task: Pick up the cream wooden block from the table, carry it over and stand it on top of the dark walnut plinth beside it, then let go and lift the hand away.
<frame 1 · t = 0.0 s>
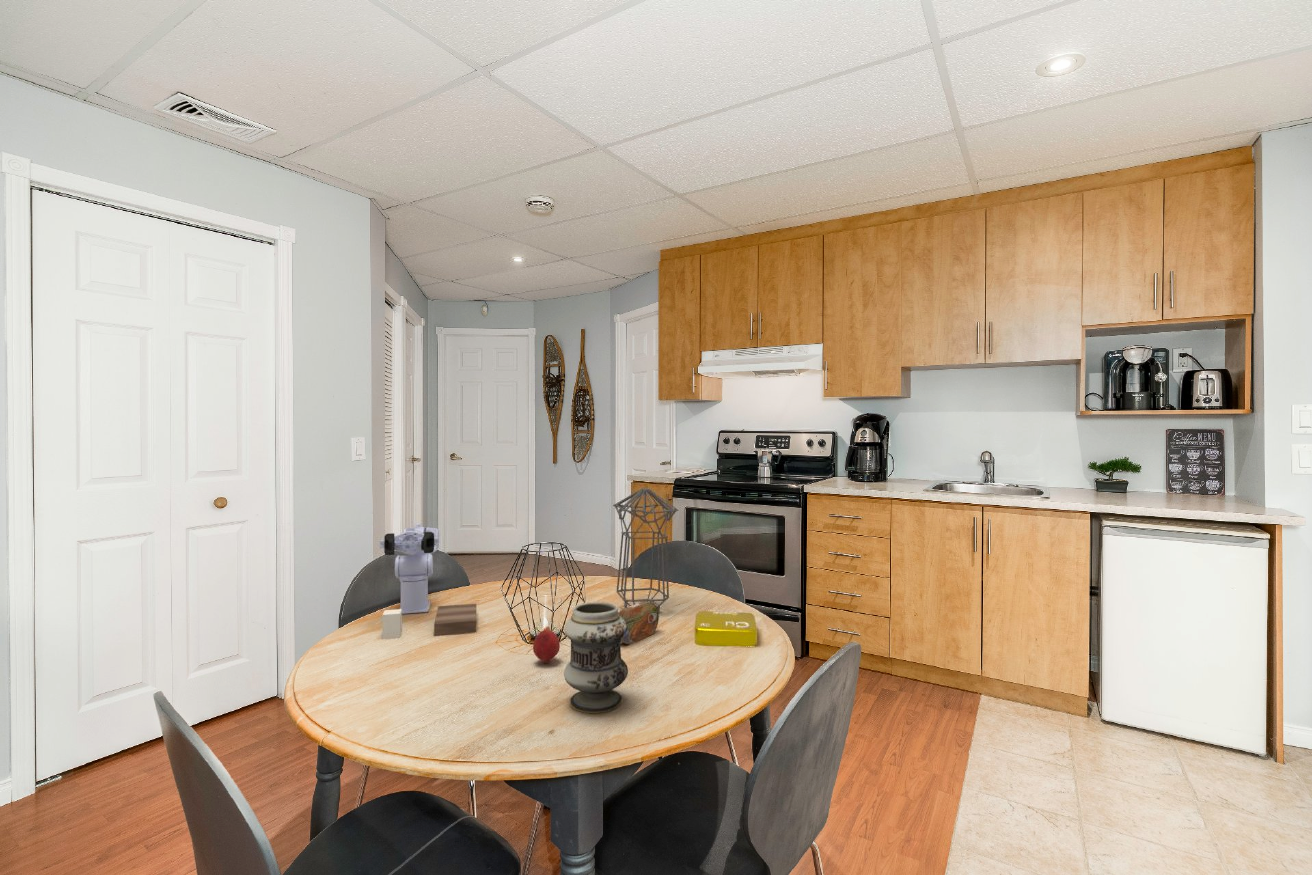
hand: (406, 545, 156), 22 cm above the table, tool horizontal, fingers open, 7 cm apart
tin: (636, 639, 151), on the table
block: (392, 635, 152), on the table
plinth: (456, 624, 161), on the table
apothecary jar: (595, 702, 116), on the table
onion: (546, 663, 135), on the table
geometric lantern: (644, 611, 174), on the table
element tile: (725, 638, 153), on the table
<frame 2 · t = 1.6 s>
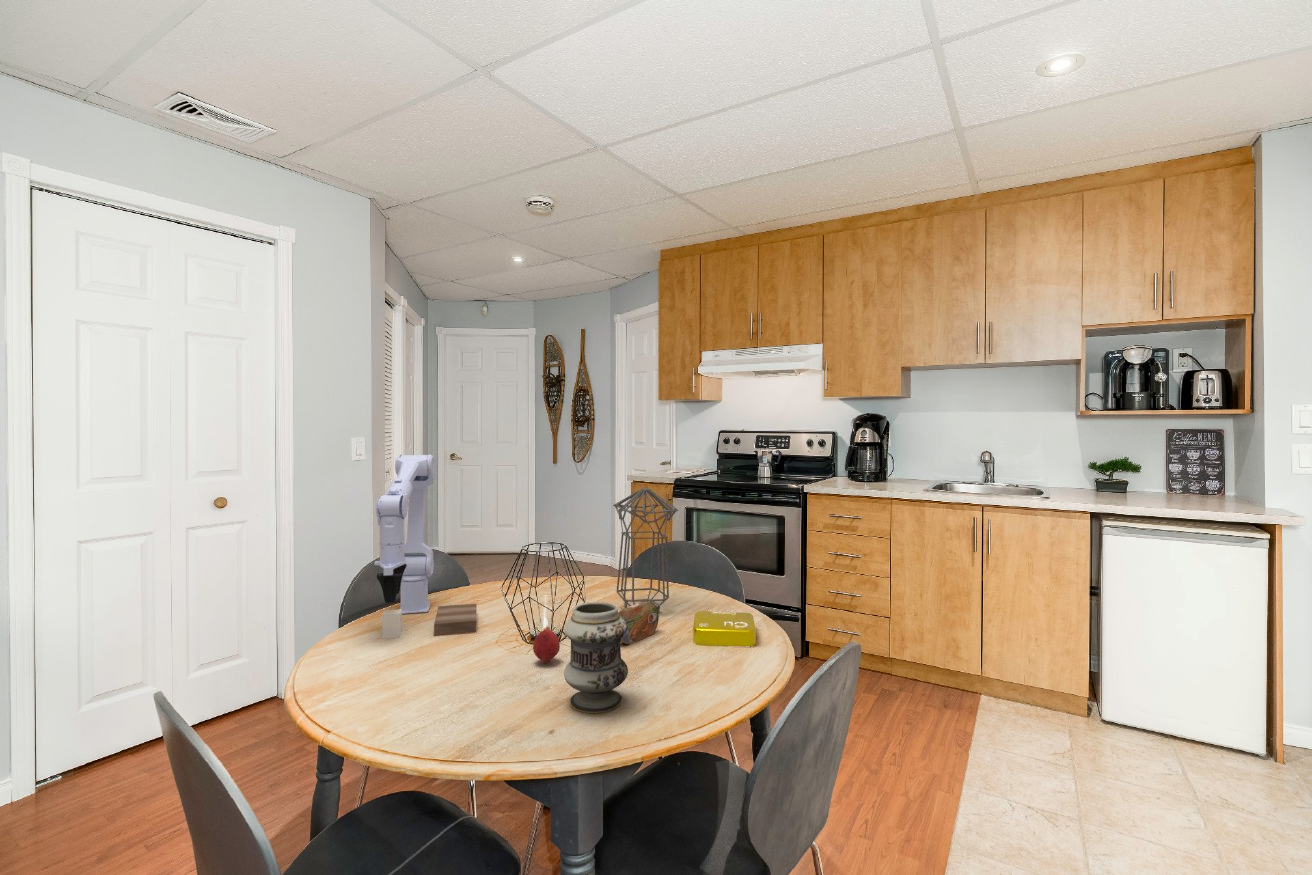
hand: (392, 597, 152), 9 cm above the table, tool pointing down, fingers open, 7 cm apart
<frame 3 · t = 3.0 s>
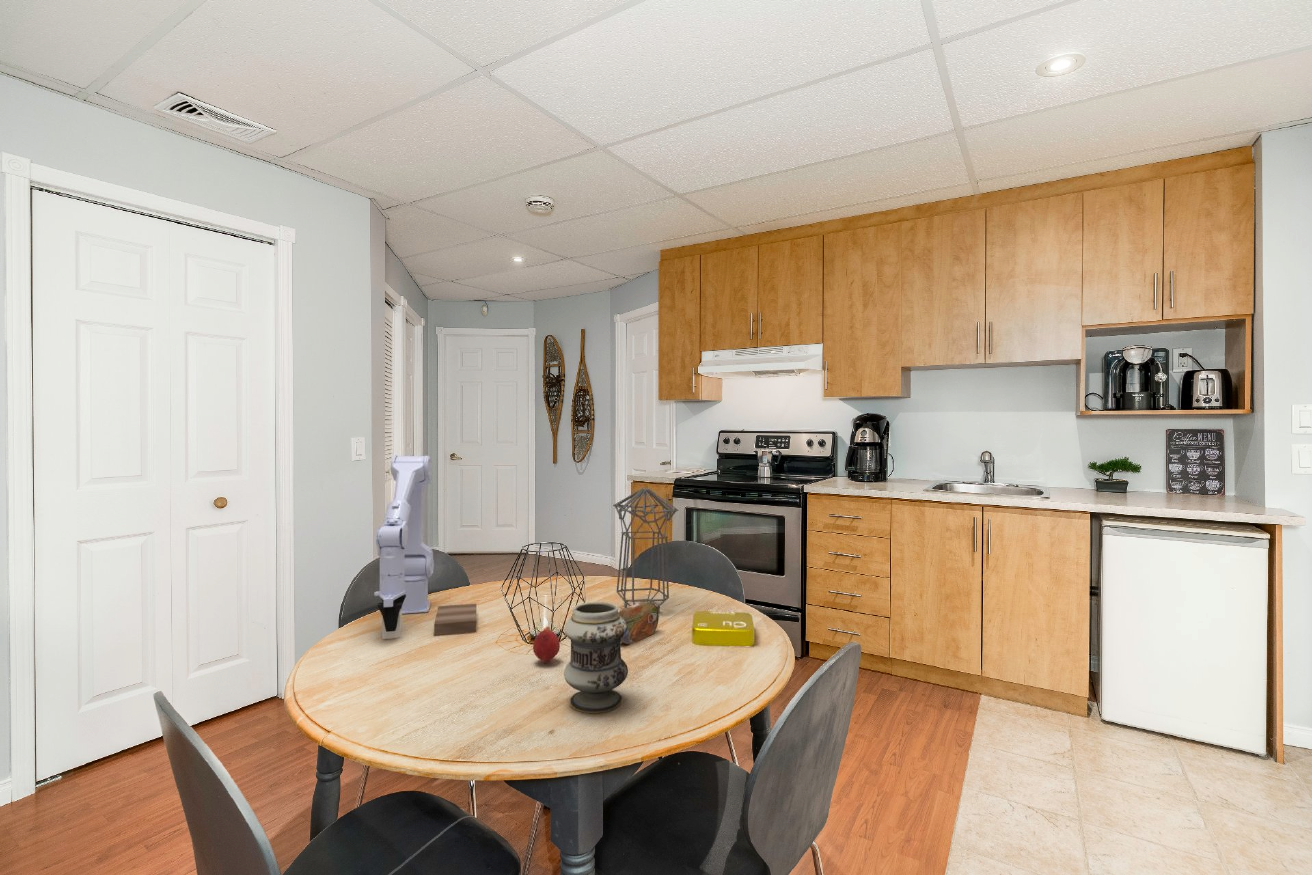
hand: (392, 627, 152), 2 cm above the table, tool pointing down, fingers closed on block, 4 cm apart
block: (392, 635, 152), on the table, touching gripper
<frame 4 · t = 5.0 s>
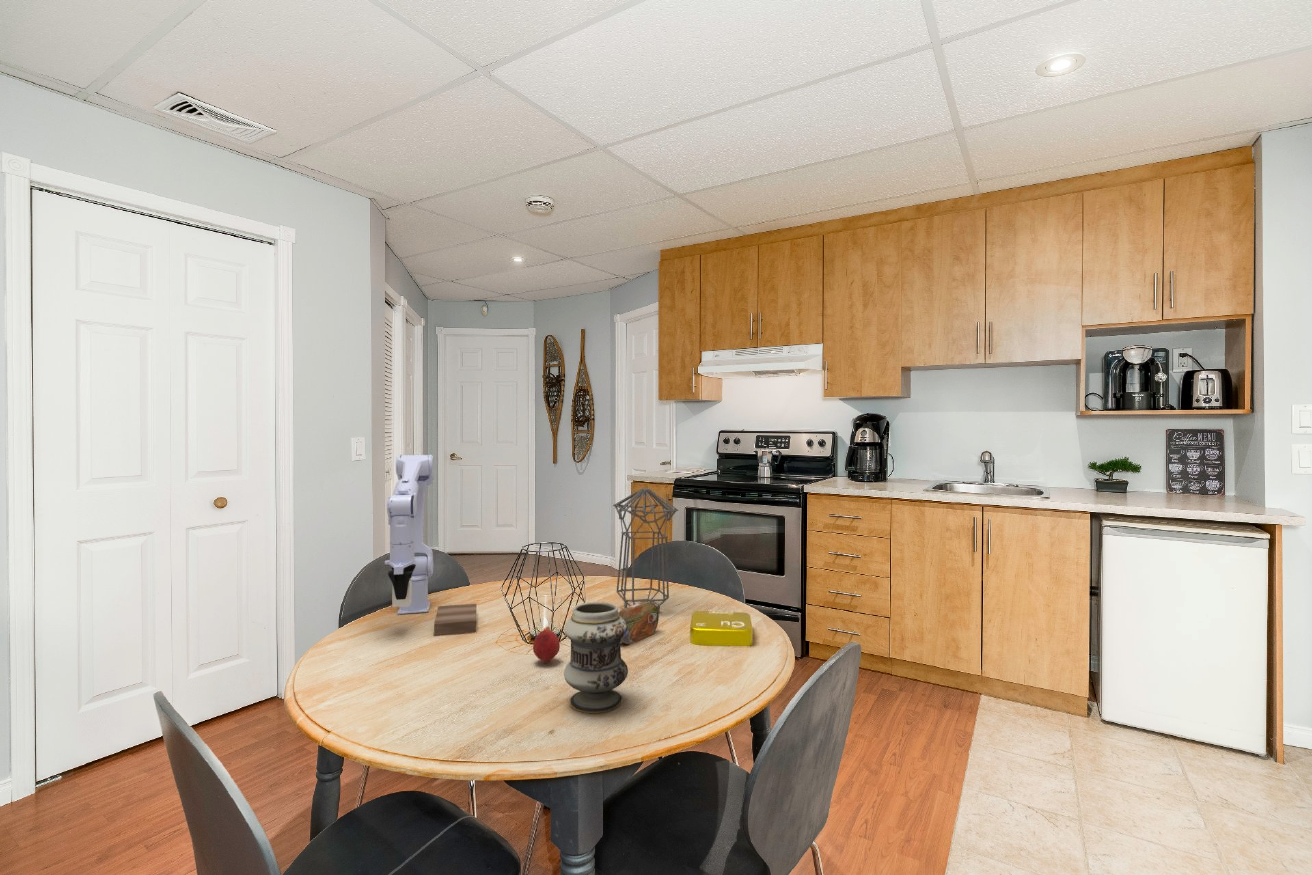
hand: (402, 596, 154), 9 cm above the table, tool pointing down, fingers closed on block, 4 cm apart
block: (402, 604, 154), point 7 cm above the table, touching gripper
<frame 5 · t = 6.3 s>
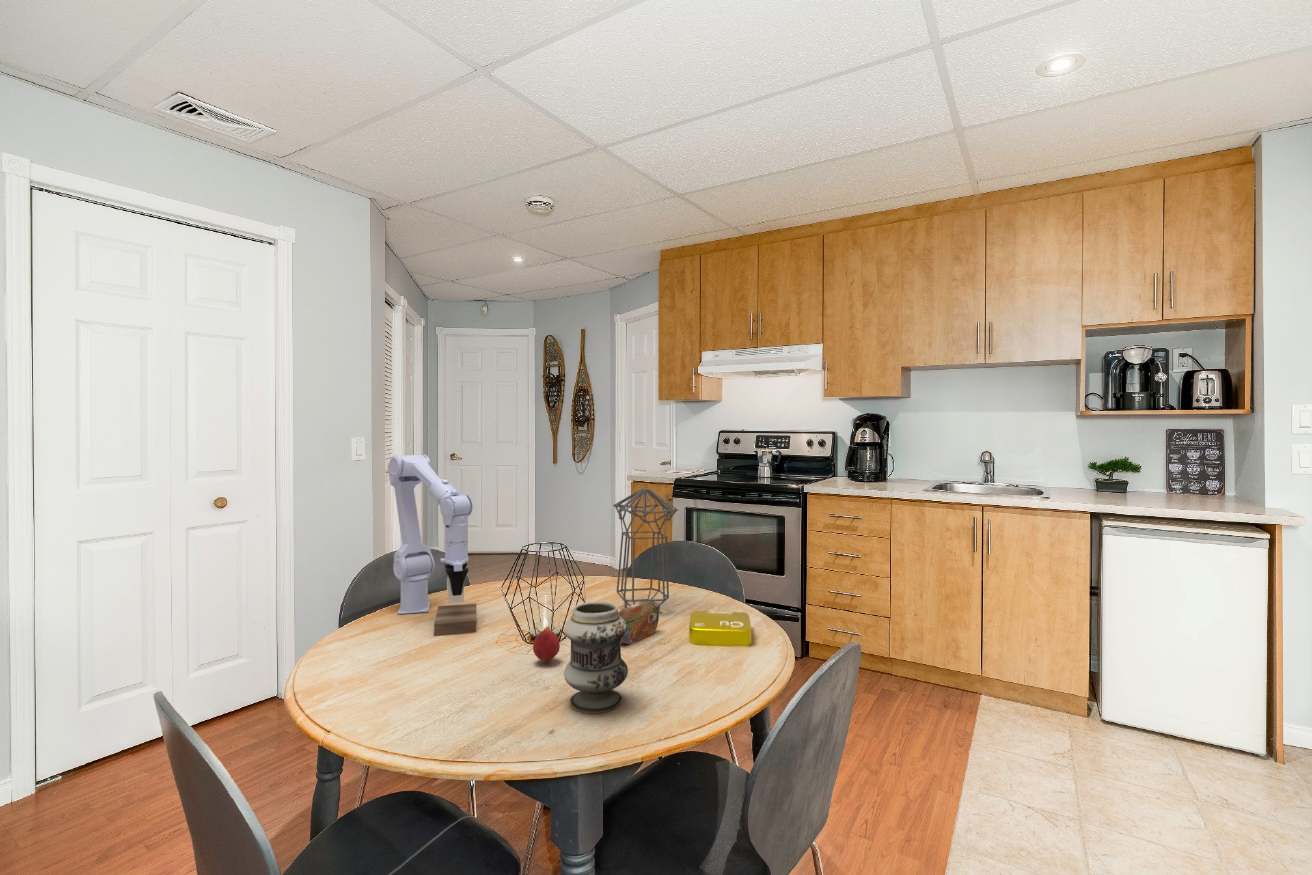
hand: (456, 592, 161), 8 cm above the table, tool pointing down, fingers closed on block, 4 cm apart
block: (455, 600, 161), point 6 cm above the table, touching gripper
when the fingers open (6 cm above the table, at t = 7.1 s): block drops 1 cm, resting on plinth.
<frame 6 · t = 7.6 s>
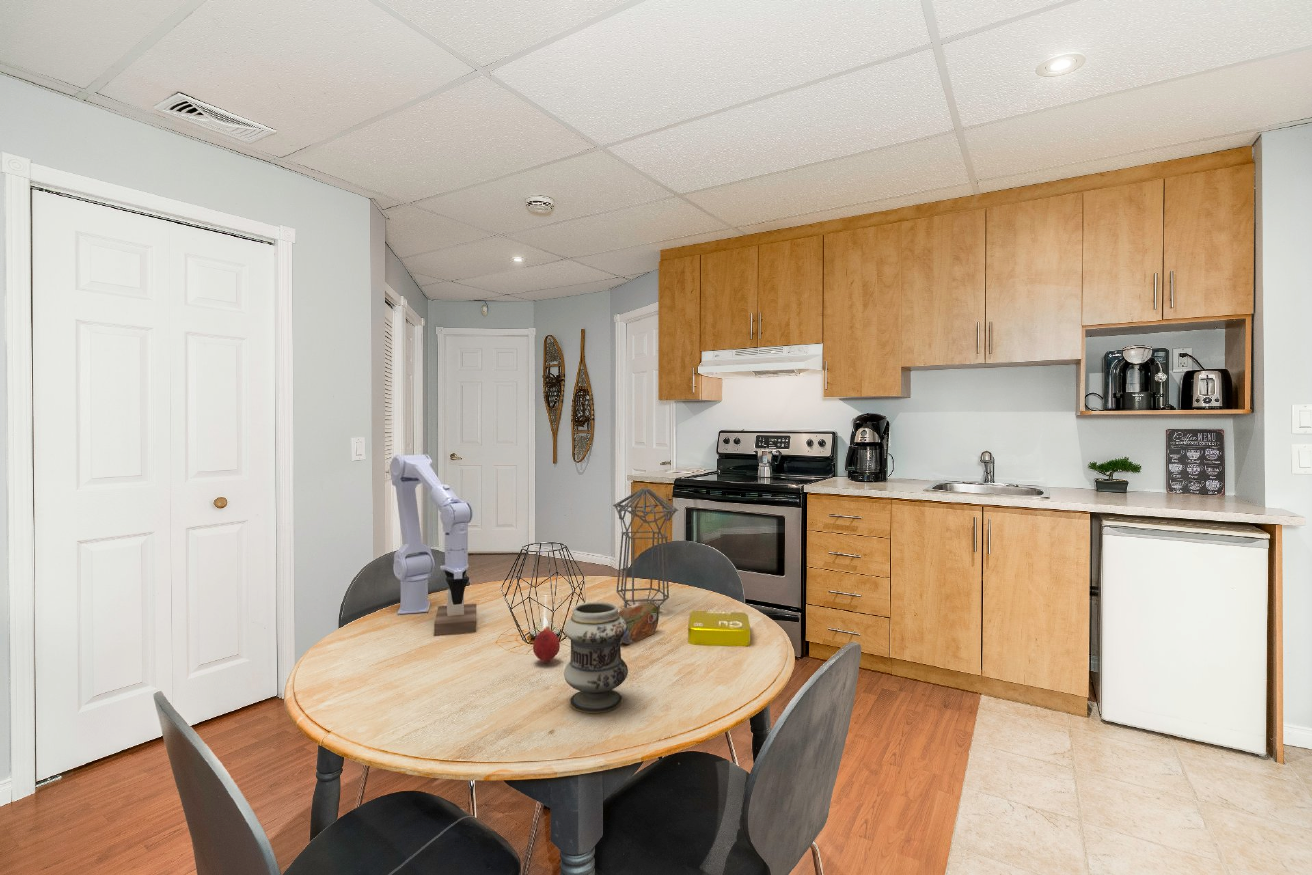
hand: (456, 600, 161), 6 cm above the table, tool pointing down, fingers open, 7 cm apart
block: (455, 613, 161), point 3 cm above the table, touching plinth
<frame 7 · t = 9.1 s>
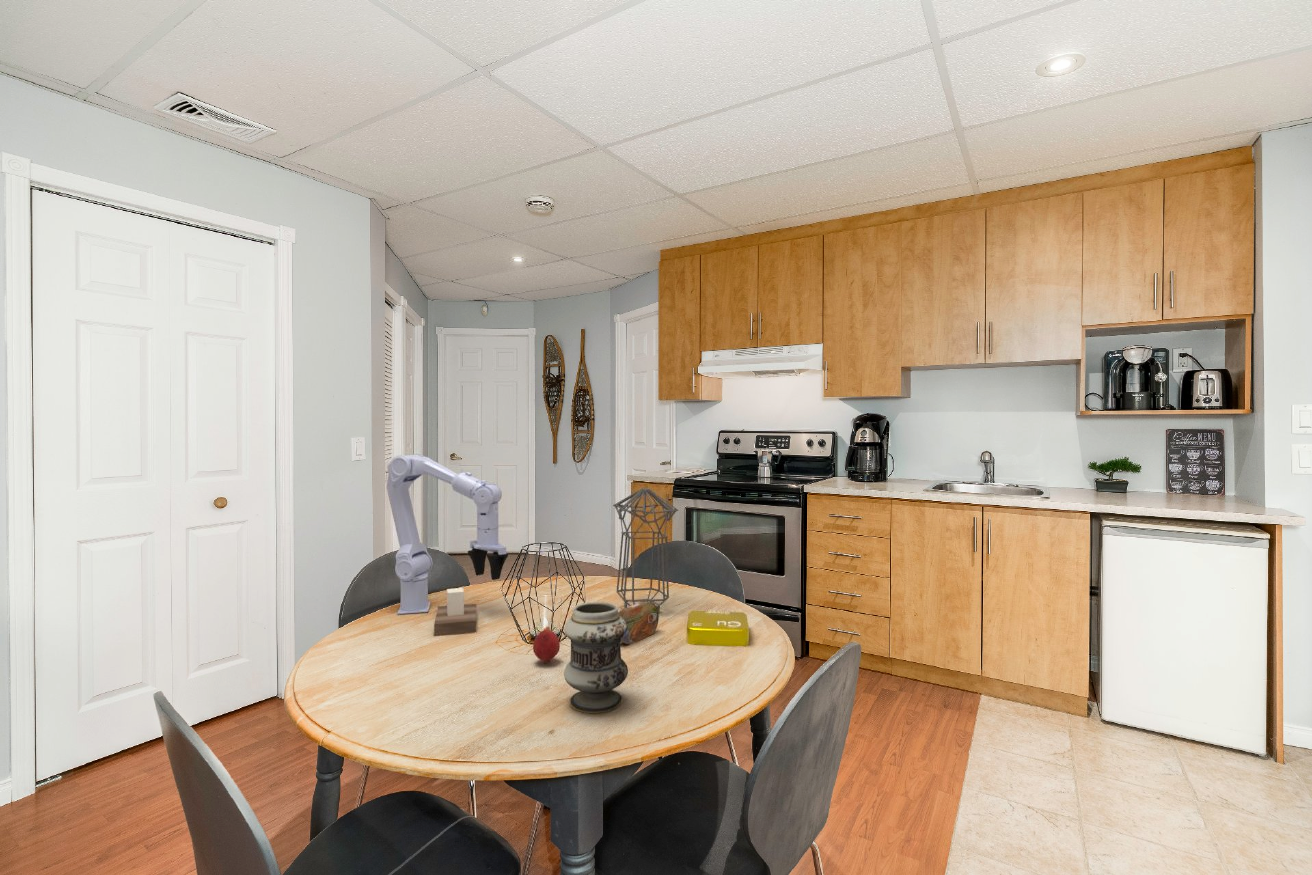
hand: (487, 576, 170), 10 cm above the table, tool pointing down, fingers open, 7 cm apart
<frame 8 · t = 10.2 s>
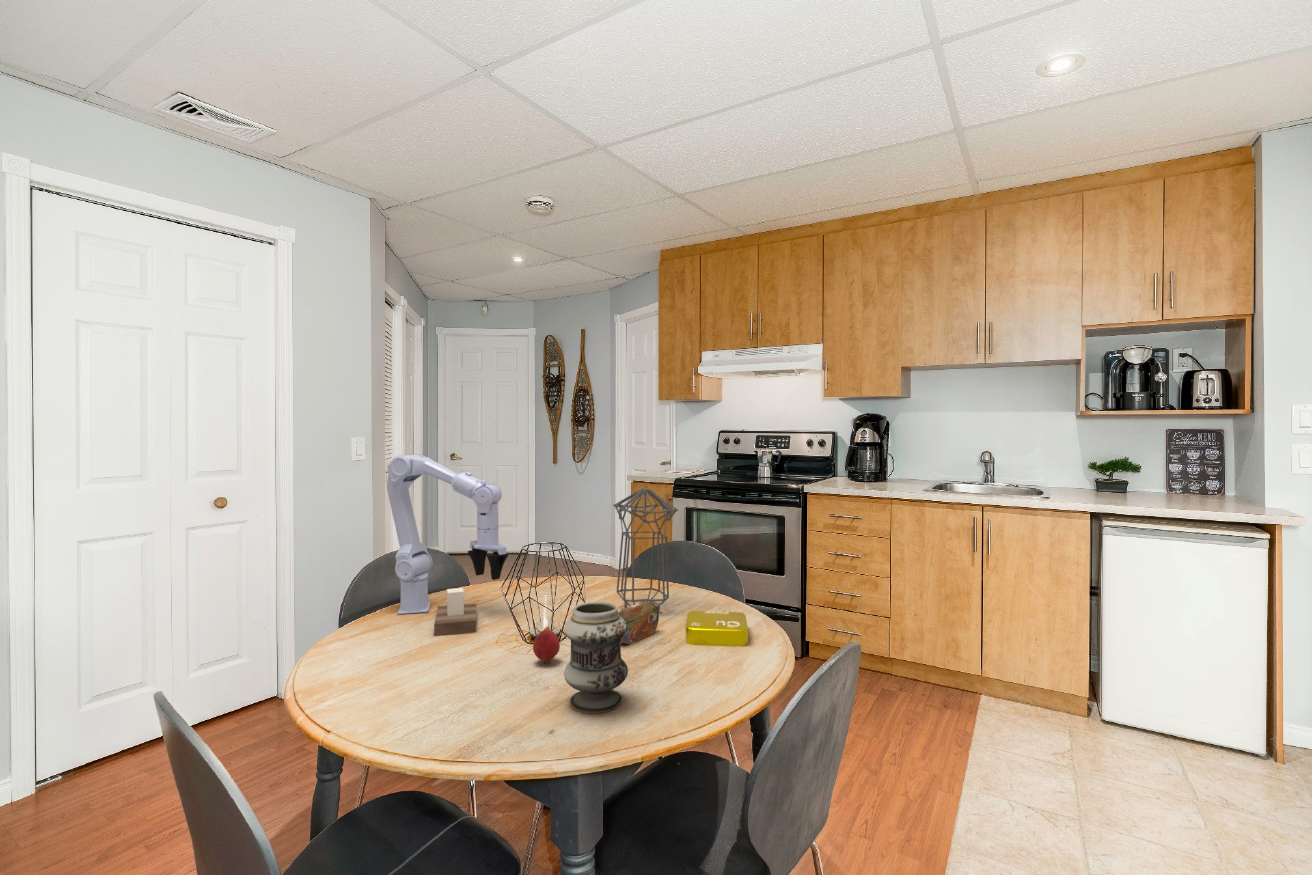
hand: (487, 576, 170), 10 cm above the table, tool pointing down, fingers open, 7 cm apart
at the end: block inside the target area on the plinth (0.3 cm from its centre), point 3.0 cm above the plinth's base; block tilted 0°; the gripper is holding nothing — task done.
